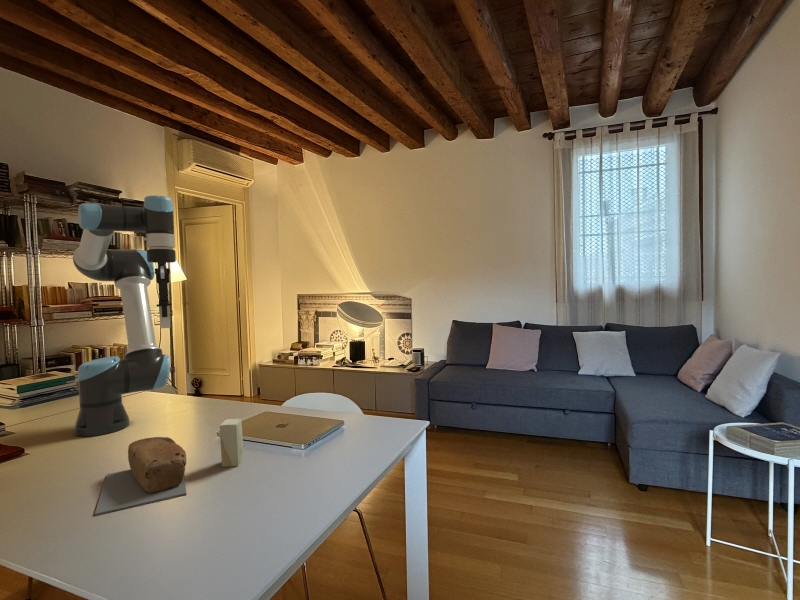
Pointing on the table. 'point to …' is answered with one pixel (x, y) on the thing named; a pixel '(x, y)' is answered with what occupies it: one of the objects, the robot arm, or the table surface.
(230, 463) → the box
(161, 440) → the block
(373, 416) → the table surface
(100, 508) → the mat
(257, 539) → the table surface
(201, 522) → the table surface
